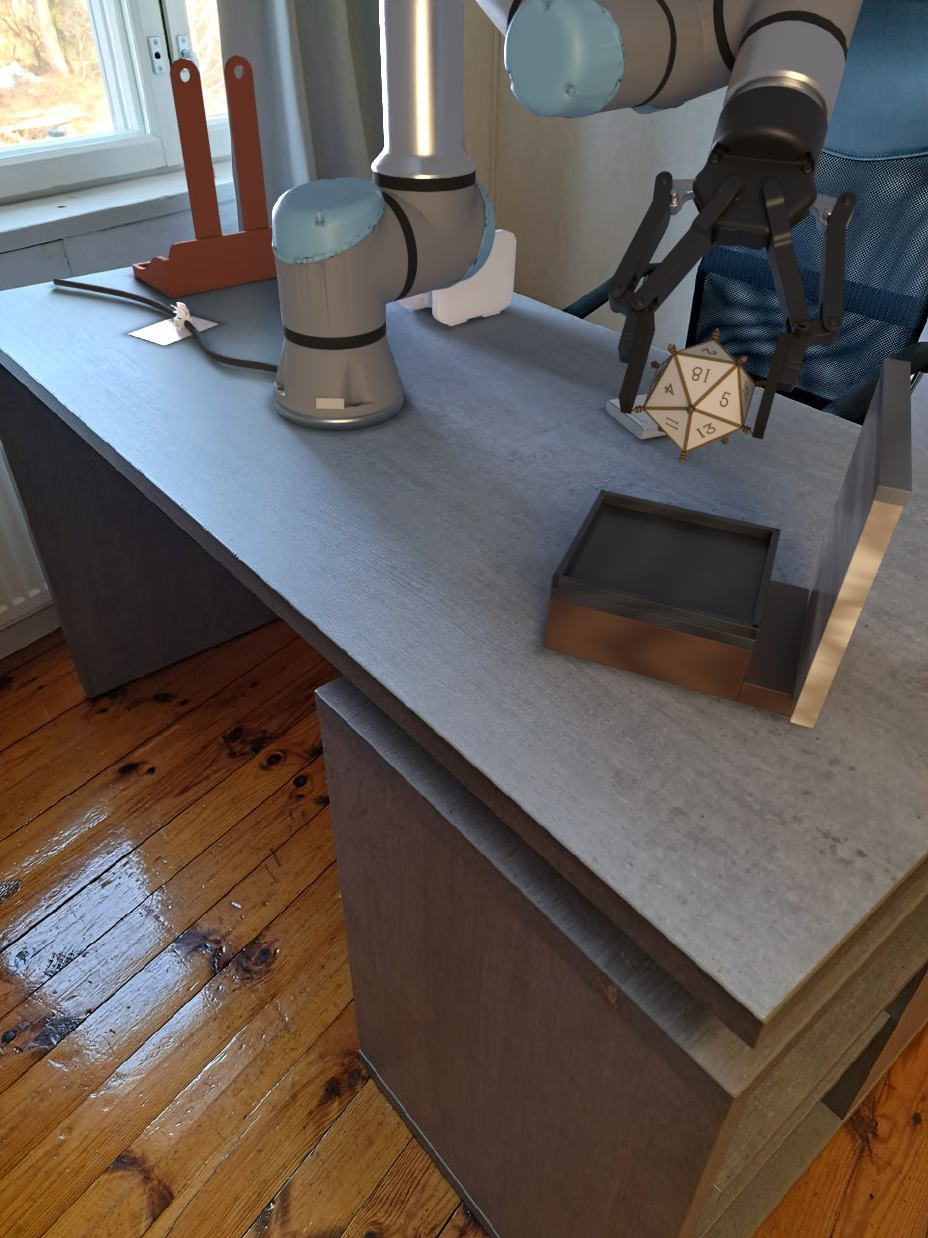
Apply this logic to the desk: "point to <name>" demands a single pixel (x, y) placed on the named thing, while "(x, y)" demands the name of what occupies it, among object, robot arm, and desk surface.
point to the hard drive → (635, 419)
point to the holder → (735, 581)
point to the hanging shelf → (211, 252)
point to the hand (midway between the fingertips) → (690, 418)
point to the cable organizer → (475, 288)
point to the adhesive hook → (173, 327)
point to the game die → (700, 395)
